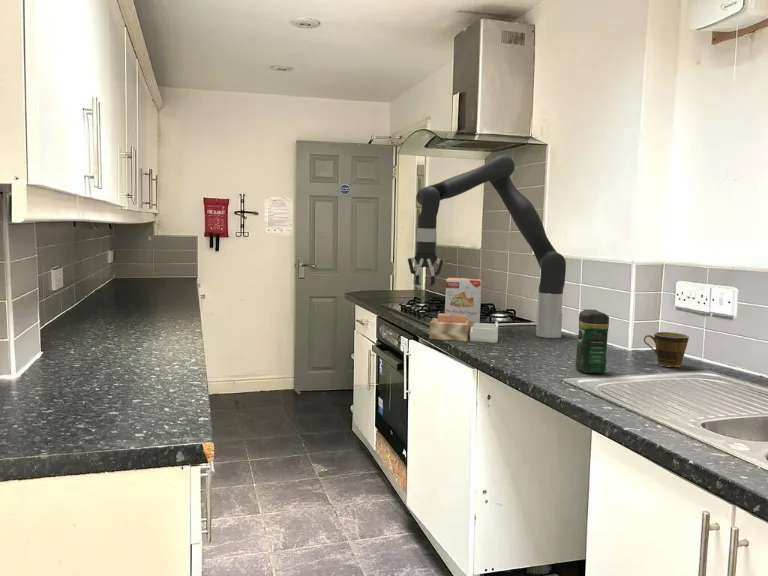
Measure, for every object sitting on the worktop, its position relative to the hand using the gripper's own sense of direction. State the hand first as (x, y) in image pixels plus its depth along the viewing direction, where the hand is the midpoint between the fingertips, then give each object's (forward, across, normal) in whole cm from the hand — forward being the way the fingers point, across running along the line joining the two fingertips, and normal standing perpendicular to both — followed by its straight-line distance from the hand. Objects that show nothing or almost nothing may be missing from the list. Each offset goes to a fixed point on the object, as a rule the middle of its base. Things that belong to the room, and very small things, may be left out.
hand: (424, 285), depth 232 cm
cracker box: (+20, -14, -19) cm, 31 cm away
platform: (+19, -10, 0) cm, 22 cm away
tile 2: (+13, -14, 0) cm, 19 cm away
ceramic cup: (+20, -80, +27) cm, 87 cm away
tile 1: (+13, -8, 0) cm, 16 cm away
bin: (+19, -23, 0) cm, 30 cm away
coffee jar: (+20, -55, +42) cm, 72 cm away
